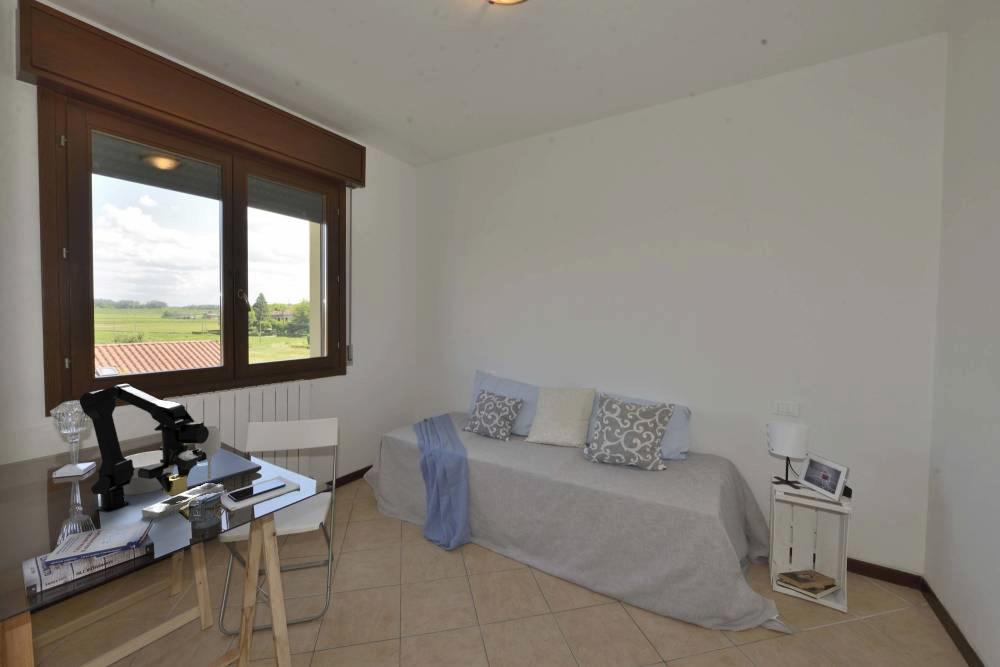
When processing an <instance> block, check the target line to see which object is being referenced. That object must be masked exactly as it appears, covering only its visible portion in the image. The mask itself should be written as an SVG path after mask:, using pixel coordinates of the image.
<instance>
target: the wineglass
mask: <svg viewBox="0 0 1000 667" xmlns="http://www.w3.org/2000/svg"><path fill="white" fill-rule="evenodd" d="M205 426H206V425H205ZM206 427H207V429H208V430H209V436H208V438H207V440H206V441H205V442H204V443H201V444H198V443H194V446H195V449H198V448H200V449H202V451H203V452H205V453H206V454H207V459H206V461H207V477H206V478H207V479H210V478H213V477H214V476H213V474H212V458H213V457H214V456H215V455H216V454H218V452H219V450H220V449H221V446H222V437H221V431H220V428H219V426H217V425H207V426H206Z"/></svg>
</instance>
